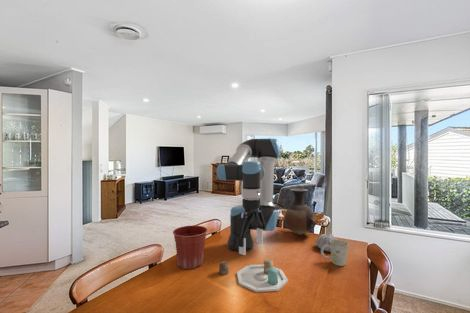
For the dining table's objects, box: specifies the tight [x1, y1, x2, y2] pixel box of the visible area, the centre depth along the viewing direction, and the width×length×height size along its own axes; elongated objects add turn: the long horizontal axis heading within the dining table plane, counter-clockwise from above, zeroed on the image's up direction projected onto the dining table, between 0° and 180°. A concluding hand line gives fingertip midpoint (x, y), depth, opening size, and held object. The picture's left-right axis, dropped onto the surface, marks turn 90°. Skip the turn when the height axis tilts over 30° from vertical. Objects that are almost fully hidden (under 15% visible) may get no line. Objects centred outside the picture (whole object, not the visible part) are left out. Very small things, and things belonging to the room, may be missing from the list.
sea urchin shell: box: [315, 233, 339, 253], centre depth 132 cm, size 13×14×8 cm
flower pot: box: [172, 225, 208, 270], centre depth 114 cm, size 16×16×16 cm
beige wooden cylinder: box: [263, 258, 274, 275], centre depth 103 cm, size 4×4×5 cm
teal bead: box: [268, 267, 278, 285], centre depth 95 cm, size 4×4×5 cm
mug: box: [320, 239, 350, 267], centre depth 115 cm, size 8×13×10 cm, turn 78°
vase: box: [284, 188, 316, 236], centre depth 154 cm, size 23×19×30 cm
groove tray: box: [236, 263, 289, 293], centre depth 99 cm, size 20×20×2 cm
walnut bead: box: [218, 261, 229, 276], centre depth 103 cm, size 4×4×5 cm
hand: (251, 248), depth 99 cm, fingers open, 13 cm apart
